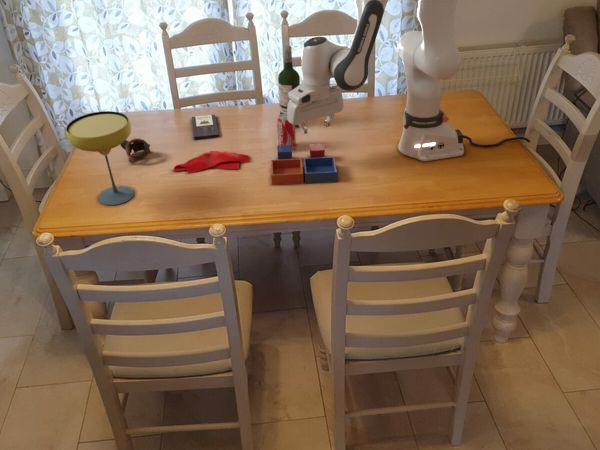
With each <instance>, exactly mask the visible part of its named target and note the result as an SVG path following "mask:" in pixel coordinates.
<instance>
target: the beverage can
mask: <svg viewBox="0 0 600 450" xmlns="http://www.w3.org/2000/svg"><path fill="white" fill-rule="evenodd" d="M276 127H277V146H283V145H291V147H292V149H294V148H295V147H296V146H297V144H296V143H297V142H296V140H297V139H296V127H295V125H293V124H291V123H290V122H289V121H288V119H287V113H284V114H280V113H279V115H278V117H277V120H276Z"/></svg>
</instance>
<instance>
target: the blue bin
mask: <svg viewBox="0 0 600 450" xmlns="http://www.w3.org/2000/svg"><path fill="white" fill-rule="evenodd" d="M302 159H303V160H302V162H303V176H304V182H305V184H315V183H317V184H318V183H333V182H334V183H336V182H338V170H337V165H336V160H335V156H325V157H319V158H310V157H303V158H302Z"/></svg>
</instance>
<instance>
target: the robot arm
mask: <svg viewBox="0 0 600 450" xmlns="http://www.w3.org/2000/svg"><path fill="white" fill-rule="evenodd" d="M353 1H354V4H355V9H356V12H357V13H356V14H357V23H356V28H355V31H354V34H353V37H352V40H351V43H350V46H349V45H346V44H340V43H336V42H333V41H331V40H330V39H328V38H327V37H325V36H315V37H314V36H313V37H311V38H309V39H307V40H306V41H305V42H304V43H303V45H302V49H301V61H300V62H301V63H300V64H301V71H302V78H301V82H300V85H299V86H298V87H296V88H295V89H293V90H292V91H290V92H289V93H288V97H289V98H290V99H291V100H290V101H289V102H288V106H287V119H288V121H289V122H290V123H291V124H293V125H299V126H298V127H299V128H300V133H301V134H302V135H307V134H308V133H309V132H308V130H309V129H308V128H307V127H305V124H306V123H308V122H311V121H313V120H318V119H321V118H324V117H326V120H324V124H323V125H324V127H326V128H329V127H332V121H333V119H334V117H335V114H337V113H340V112H342V111H343V109H344V97H343V91H345V92H346V91H347V92H351V91H356V90H358V89H360V88H361V87H363V85H365V83H366V82H367V80H368V77H369V63H370V57H371V54H372V51H373V48H374V45H375V43H376V40H377V36H378V33H379V30H380V29H381V28H380V27H381V24H382V20H383V17H384V13H385V10H386V7H387V4H388V3H389V0H353ZM457 3H458V0H418V6H417V12H416V15H417V20H418V21H419V23H420V27H421V30H408V31H406V32H404V34H403V35H402V36H401V37H400V38H399V41H398V43H397V51H398V53H397V54H398V55H399V57H400V59H401V62H402V64H403V70H404V74H405V80H406V103H405V109H404V113H403V119H402V122H403V123H402V125H403V128H402V132H401V133H402V134H401V137H400V140H399V143H398V145H397V149H398V151H399V152H400V153H401V154H403V155H404V156H407V157H409V158H414V159H416V160H419V161H421V162H431V161H436V160H444V159H449V158H457V157H462V156H463V155H464V153H465V147H464V144H463V142H464V139H466V140H468V142H469V144H470V145H471V146H474V147H480V148H491V147H492V148H493V147H497V146H500V145H502V144H503V143H505V142H509V141H516V140H523V141H526V142H527V143H532V142H531V140H530V139H529V138H527V137H524V136H515V137H509V138H505V139H502V140H500V141H499V142H496V143H492V144H478V143H475V142H473V141H472V138H471V137H469V136H468V135H464V134H463V133H462V131H461V130H460V129H456V128H454V127H453V126H452V125H451V124H449V123H448V122H449V117H448V115H447V114H446V113H445V112H444V111H443V110H442V109H441V101H442V100H441V99H442V87H441V84H440V82H439V80H443V81H445V80H447V81H448V80H451V79H452V78H453V77H455V76H456V75H457V74H458V72H459V70H460V68H461V66H462V62H463V61H462V55H461V53H460V50H459V48H458V46H457V41H456V34H455V15H456V14H455V13H456V9H457ZM331 79H334V81H335V84H333V85H331Z"/></svg>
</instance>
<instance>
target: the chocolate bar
mask: <svg viewBox="0 0 600 450" xmlns="http://www.w3.org/2000/svg"><path fill="white" fill-rule="evenodd" d="M191 120H192V129H193V140H201V139H211V138H219V130H218V126H217V125H218V124H217V120H216V114H207V115H196V116H191Z"/></svg>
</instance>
